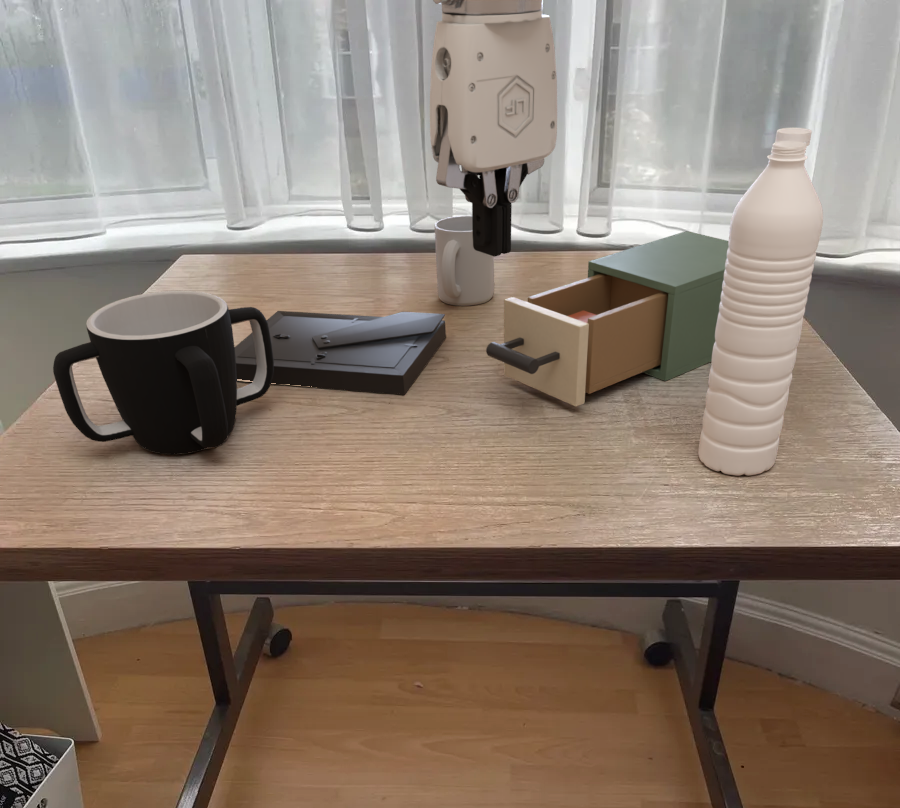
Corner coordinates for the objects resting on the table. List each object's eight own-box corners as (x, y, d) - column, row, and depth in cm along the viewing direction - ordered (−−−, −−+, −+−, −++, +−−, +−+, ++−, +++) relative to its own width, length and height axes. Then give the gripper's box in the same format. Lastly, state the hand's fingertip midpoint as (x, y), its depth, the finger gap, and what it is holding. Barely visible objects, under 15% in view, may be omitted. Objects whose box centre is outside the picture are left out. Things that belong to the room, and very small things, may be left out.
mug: (300, 408, 90) (281, 287, 83) (220, 487, 78) (191, 353, 71) (158, 393, 94) (129, 277, 87) (62, 465, 82) (19, 338, 75)
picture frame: (446, 338, 103) (280, 327, 108) (444, 314, 102) (276, 304, 107) (404, 395, 91) (220, 380, 96) (402, 368, 90) (215, 355, 95)
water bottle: (771, 482, 75) (837, 152, 60) (692, 471, 77) (736, 149, 62) (780, 436, 81) (841, 128, 66) (706, 427, 83) (750, 126, 68)
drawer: (543, 420, 84) (545, 339, 79) (472, 386, 90) (470, 310, 86) (676, 365, 93) (685, 289, 88) (602, 338, 99) (607, 266, 94)
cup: (502, 290, 116) (501, 217, 111) (474, 316, 109) (473, 240, 103) (450, 285, 118) (447, 214, 113) (420, 311, 111) (415, 236, 106)
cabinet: (665, 381, 92) (675, 286, 86) (583, 350, 99) (588, 261, 93) (759, 341, 99) (774, 251, 93) (676, 315, 106) (686, 230, 101)
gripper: (444, 5, 61) (451, 281, 72) (599, -9, 68) (584, 243, 79) (380, 1, 65) (396, 260, 76) (531, -12, 73) (526, 226, 84)
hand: (491, 251), depth 78 cm, fingers closed
